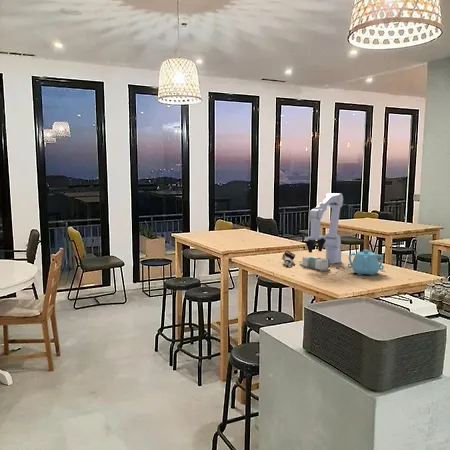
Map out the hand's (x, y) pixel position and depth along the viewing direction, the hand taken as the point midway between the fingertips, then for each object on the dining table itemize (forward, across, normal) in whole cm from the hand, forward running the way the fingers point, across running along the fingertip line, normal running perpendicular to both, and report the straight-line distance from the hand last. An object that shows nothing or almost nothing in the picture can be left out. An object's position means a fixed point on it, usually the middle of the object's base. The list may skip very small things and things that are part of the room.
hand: (315, 251), depth 273 cm
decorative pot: (+10, +14, -26) cm, 32 cm away
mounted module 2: (+10, 0, -6) cm, 12 cm away
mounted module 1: (+10, 0, +5) cm, 11 cm away
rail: (+10, 0, 0) cm, 10 cm away
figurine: (+10, -8, +17) cm, 21 cm away
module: (+9, 0, -1) cm, 9 cm away
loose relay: (+10, +10, +3) cm, 14 cm away
